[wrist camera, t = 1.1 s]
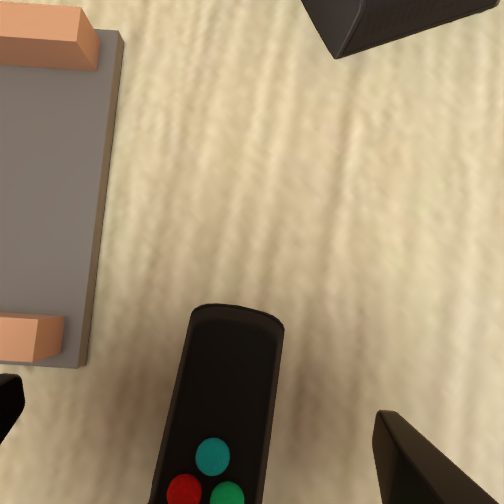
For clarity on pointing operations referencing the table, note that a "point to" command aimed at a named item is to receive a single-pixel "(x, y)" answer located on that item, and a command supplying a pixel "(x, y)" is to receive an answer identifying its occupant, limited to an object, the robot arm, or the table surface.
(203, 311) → the controller
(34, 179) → the dock
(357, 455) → the table surface
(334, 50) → the external hard drive
